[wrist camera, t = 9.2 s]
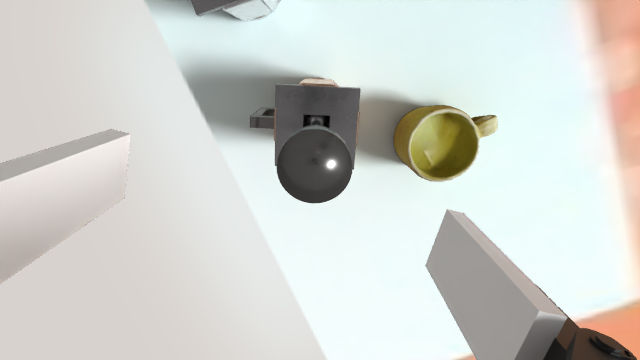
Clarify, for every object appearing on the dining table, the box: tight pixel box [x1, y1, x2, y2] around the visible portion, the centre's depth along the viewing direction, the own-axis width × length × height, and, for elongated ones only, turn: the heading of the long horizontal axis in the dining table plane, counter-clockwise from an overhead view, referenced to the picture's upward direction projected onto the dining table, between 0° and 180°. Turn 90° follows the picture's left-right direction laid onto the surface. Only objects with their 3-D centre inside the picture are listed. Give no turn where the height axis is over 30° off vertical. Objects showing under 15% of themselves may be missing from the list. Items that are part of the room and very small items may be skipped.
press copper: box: [250, 78, 360, 169], centre depth 44 cm, size 12×9×13 cm
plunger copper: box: [277, 114, 352, 203], centre depth 33 cm, size 6×6×18 cm
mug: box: [394, 105, 498, 182], centre depth 48 cm, size 12×10×10 cm
